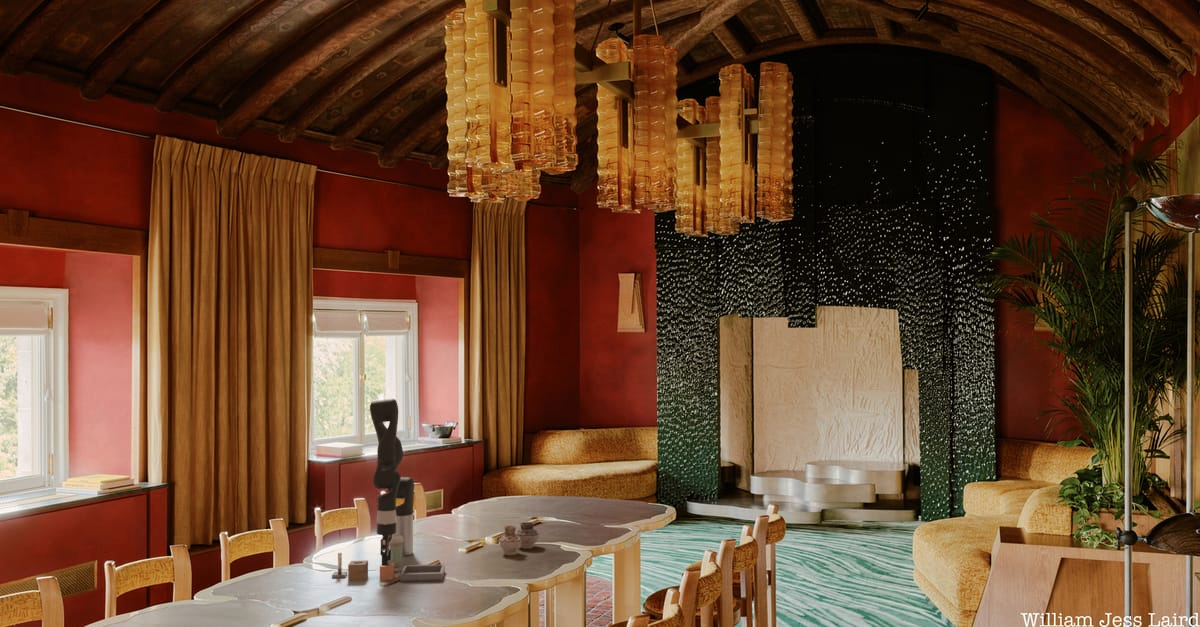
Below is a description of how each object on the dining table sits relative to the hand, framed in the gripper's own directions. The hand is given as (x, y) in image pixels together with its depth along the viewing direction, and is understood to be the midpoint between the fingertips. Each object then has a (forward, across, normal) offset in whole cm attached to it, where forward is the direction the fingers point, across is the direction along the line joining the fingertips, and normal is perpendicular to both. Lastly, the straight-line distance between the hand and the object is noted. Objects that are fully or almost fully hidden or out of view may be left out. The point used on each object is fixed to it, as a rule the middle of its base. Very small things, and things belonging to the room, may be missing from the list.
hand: (386, 562), depth 360 cm
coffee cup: (+6, -19, 0) cm, 20 cm away
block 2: (+6, 0, 0) cm, 6 cm away
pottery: (+5, -42, +52) cm, 67 cm away
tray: (+6, +1, +14) cm, 15 cm away
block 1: (+6, +1, -11) cm, 12 cm away
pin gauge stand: (+6, -4, -19) cm, 20 cm away
